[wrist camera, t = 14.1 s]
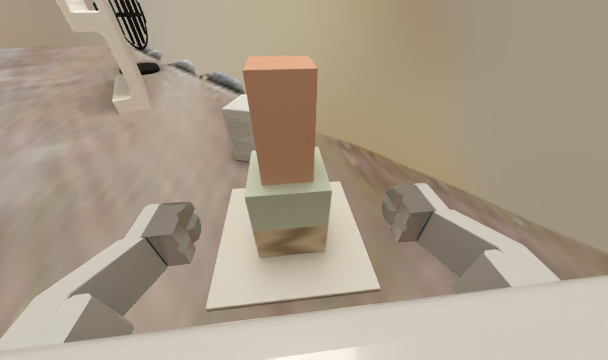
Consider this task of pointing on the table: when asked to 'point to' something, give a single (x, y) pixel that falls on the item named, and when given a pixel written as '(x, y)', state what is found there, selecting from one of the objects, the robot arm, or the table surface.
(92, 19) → the white stand
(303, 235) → the wooden block
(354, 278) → the felt pad
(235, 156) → the small box
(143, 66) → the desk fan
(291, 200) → the sage slab
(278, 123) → the terracotta block
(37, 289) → the table surface
